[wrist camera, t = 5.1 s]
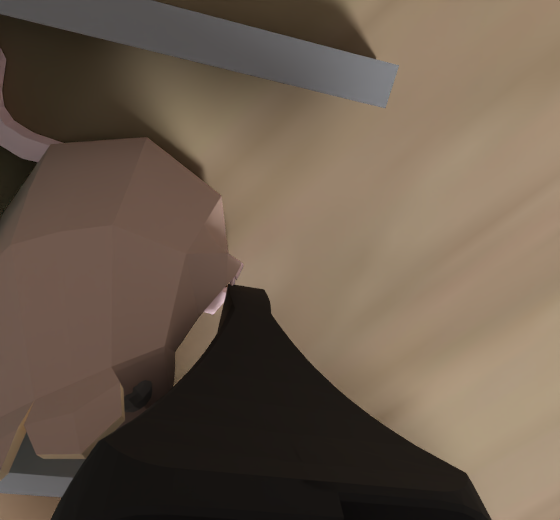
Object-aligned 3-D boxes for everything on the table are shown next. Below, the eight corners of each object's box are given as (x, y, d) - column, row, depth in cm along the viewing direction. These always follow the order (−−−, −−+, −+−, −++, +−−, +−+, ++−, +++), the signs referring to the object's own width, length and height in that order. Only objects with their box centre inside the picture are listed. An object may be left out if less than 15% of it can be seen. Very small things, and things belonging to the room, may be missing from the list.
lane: (254, 472, 16) (262, 605, 12) (-215, 431, 13) (-379, 584, 10) (378, 59, 10) (457, 80, 7) (-357, -135, 8) (-831, -260, 4)
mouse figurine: (87, -50, 9) (-221, -187, 3) (275, 282, 12) (307, 527, 6) (-130, 80, 10) (-729, 182, 4) (104, 360, 13) (-10, 647, 7)
